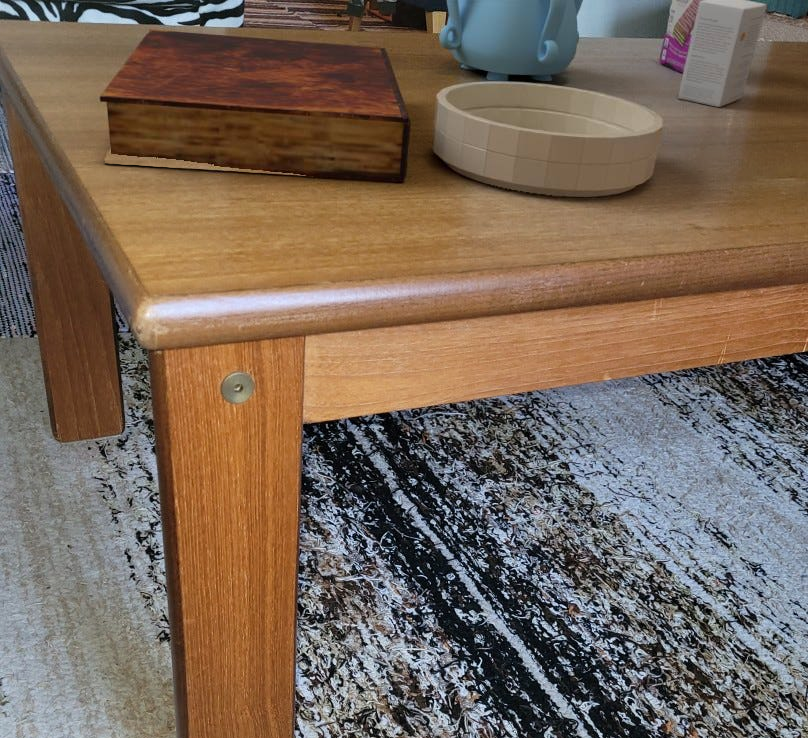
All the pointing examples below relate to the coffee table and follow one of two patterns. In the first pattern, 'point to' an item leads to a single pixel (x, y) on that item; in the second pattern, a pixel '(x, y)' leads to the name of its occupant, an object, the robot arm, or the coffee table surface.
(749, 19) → the small box
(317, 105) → the book
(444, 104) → the bowl
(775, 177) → the coffee table surface
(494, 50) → the decorative pot
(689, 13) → the candy bar box
